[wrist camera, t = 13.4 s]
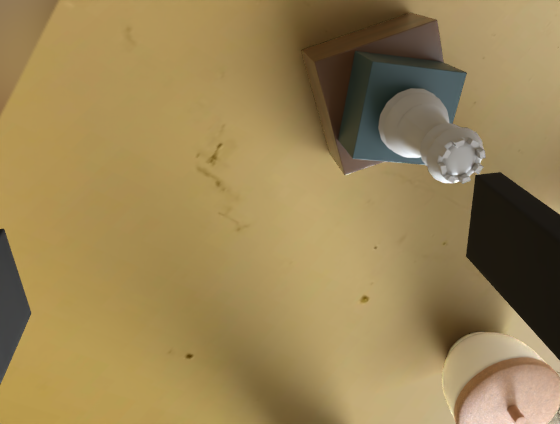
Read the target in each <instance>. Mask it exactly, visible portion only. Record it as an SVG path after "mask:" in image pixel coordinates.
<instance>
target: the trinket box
mask: <svg viewBox="0 0 560 424" xmlns="http://www.w3.org/2000/svg"><path fill="white" fill-rule="evenodd" d="M442 388H443V392H444V396H445V399H446V402H447V405H448V407H449V409H450V411H451V413H452V415H453V417H454V419H455V422H456V424H547V423H548V422H549V421H550V420H551V419H552V418H553V417H554V415H555V414H556V412H557V411H558V409H559V407H560V377H559V376H558V374H557V373H556V372H555V371H554V370H553V369H552V368H551V367H550V366H549V365H548V364H546V362H545V361H544V360H543V359H542V358H541V357H540V356H539V355H538V354H537V353H536V352H535V351H534V350H532V349H531V348H530V347H529V346H528V345H526V344H525V343H523V342H522V341H520V340H518V339H517V338H514V337H512V336H509V335H507V334H503V333H497V332H474V333H471V334H468V335H466V336H464V337H462V338H461V339H459V340H458V341H457V342H456V343H455V344H454V345H453V346H452V347H451V349H450V350H449V352H448V355H447V358H446V360H445V363H444V366H443V371H442Z"/></svg>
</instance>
